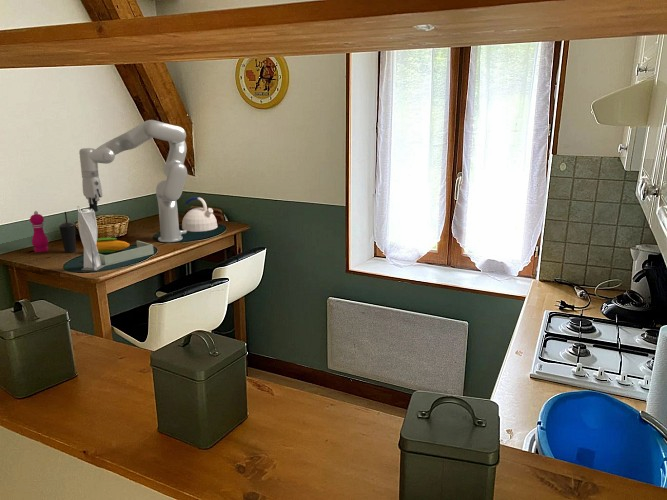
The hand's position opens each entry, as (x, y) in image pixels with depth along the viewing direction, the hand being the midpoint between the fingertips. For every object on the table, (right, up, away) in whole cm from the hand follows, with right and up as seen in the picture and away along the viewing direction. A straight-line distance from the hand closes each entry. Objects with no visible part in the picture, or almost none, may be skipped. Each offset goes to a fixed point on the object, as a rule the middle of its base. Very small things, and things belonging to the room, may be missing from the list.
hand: (93, 211), depth 274 cm
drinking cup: (-12, -20, +1) cm, 23 cm away
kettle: (+40, -6, +51) cm, 65 cm away
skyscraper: (+10, -27, -24) cm, 37 cm away
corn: (+7, -20, +1) cm, 21 cm away
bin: (+17, -22, -8) cm, 29 cm away
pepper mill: (-27, -19, +3) cm, 34 cm away
